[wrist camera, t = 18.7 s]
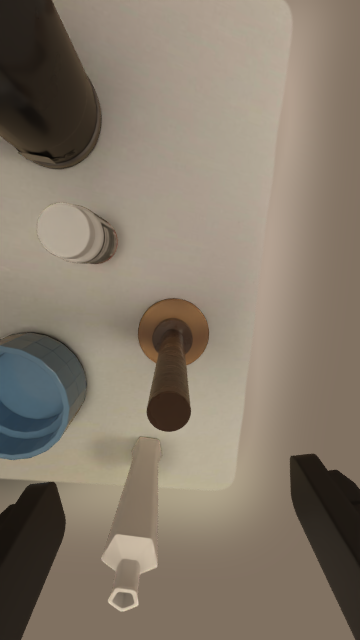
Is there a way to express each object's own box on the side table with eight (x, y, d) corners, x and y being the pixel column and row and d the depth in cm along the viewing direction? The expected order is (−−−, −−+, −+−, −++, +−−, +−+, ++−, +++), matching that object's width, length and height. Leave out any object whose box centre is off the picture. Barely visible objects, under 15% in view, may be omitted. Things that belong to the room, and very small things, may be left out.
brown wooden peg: (150, 320, 28) (122, 379, 13) (190, 315, 28) (205, 370, 13) (155, 357, 29) (134, 451, 14) (193, 353, 29) (212, 443, 14)
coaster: (134, 302, 29) (132, 303, 28) (204, 294, 29) (205, 295, 28) (144, 368, 30) (143, 371, 29) (211, 361, 30) (212, 363, 29)
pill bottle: (64, 236, 27) (16, 222, 19) (99, 208, 27) (65, 182, 18) (93, 272, 28) (59, 275, 20) (127, 246, 27) (106, 238, 19)
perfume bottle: (155, 470, 33) (139, 632, 18) (125, 456, 33) (83, 612, 18) (172, 443, 32) (169, 589, 18) (141, 428, 32) (111, 566, 17)
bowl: (-29, 338, 29) (-75, 354, 24) (76, 326, 29) (54, 339, 24) (-1, 432, 32) (-38, 465, 26) (96, 421, 32) (79, 452, 26)
